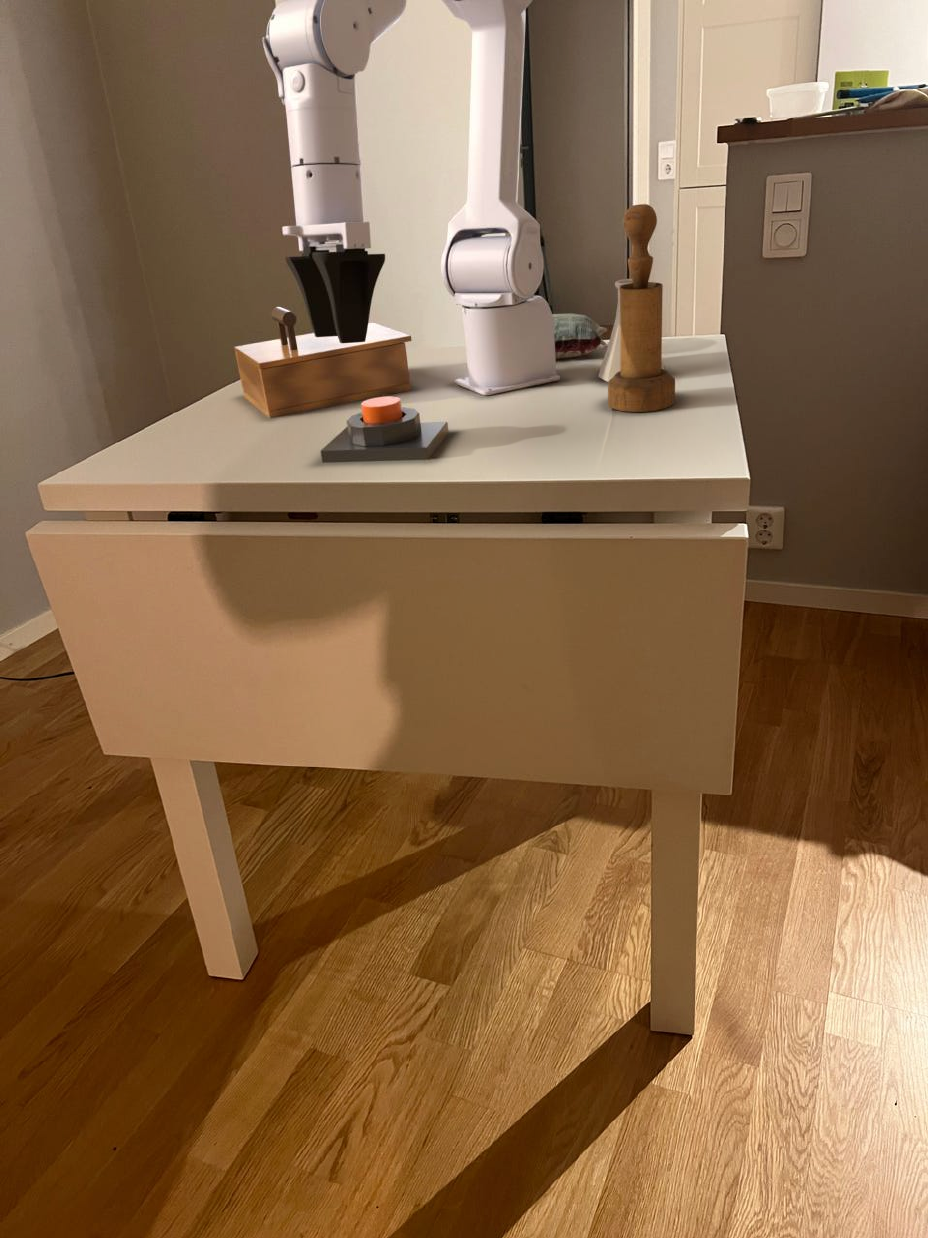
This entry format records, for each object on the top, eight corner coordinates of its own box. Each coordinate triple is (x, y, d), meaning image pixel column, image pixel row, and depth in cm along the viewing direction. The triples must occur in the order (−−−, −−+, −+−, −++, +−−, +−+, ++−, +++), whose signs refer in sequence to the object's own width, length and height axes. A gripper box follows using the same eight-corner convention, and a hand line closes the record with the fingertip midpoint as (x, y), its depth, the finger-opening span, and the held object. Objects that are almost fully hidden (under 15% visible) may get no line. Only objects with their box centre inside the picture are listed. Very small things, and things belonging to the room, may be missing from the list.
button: (407, 414, 86) (404, 395, 85) (396, 425, 83) (394, 405, 82) (370, 415, 86) (367, 397, 86) (358, 426, 83) (355, 407, 83)
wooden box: (374, 372, 116) (368, 328, 113) (411, 389, 105) (405, 342, 103) (244, 397, 110) (235, 352, 108) (269, 418, 100) (260, 369, 97)
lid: (374, 327, 114) (368, 287, 111) (411, 340, 103) (406, 297, 101) (234, 351, 108) (226, 310, 106) (260, 368, 97) (251, 323, 95)
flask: (662, 366, 104) (662, 272, 99) (668, 382, 97) (669, 282, 93) (597, 371, 105) (594, 278, 100) (599, 387, 98) (596, 288, 94)
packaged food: (514, 350, 119) (512, 311, 116) (607, 344, 117) (607, 304, 114) (507, 367, 111) (504, 325, 109) (607, 361, 109) (606, 318, 107)
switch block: (448, 433, 88) (445, 402, 87) (428, 460, 81) (424, 427, 80) (350, 437, 90) (345, 406, 89) (322, 463, 83) (316, 431, 82)
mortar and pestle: (675, 411, 87) (676, 204, 79) (606, 414, 89) (600, 211, 80) (675, 393, 93) (676, 198, 85) (610, 396, 94) (605, 204, 86)
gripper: (258, 174, 80) (274, 336, 85) (301, 157, 68) (317, 348, 73) (336, 174, 83) (347, 332, 88) (391, 158, 71) (400, 342, 76)
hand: (339, 339), depth 81 cm, fingers open, 7 cm apart
